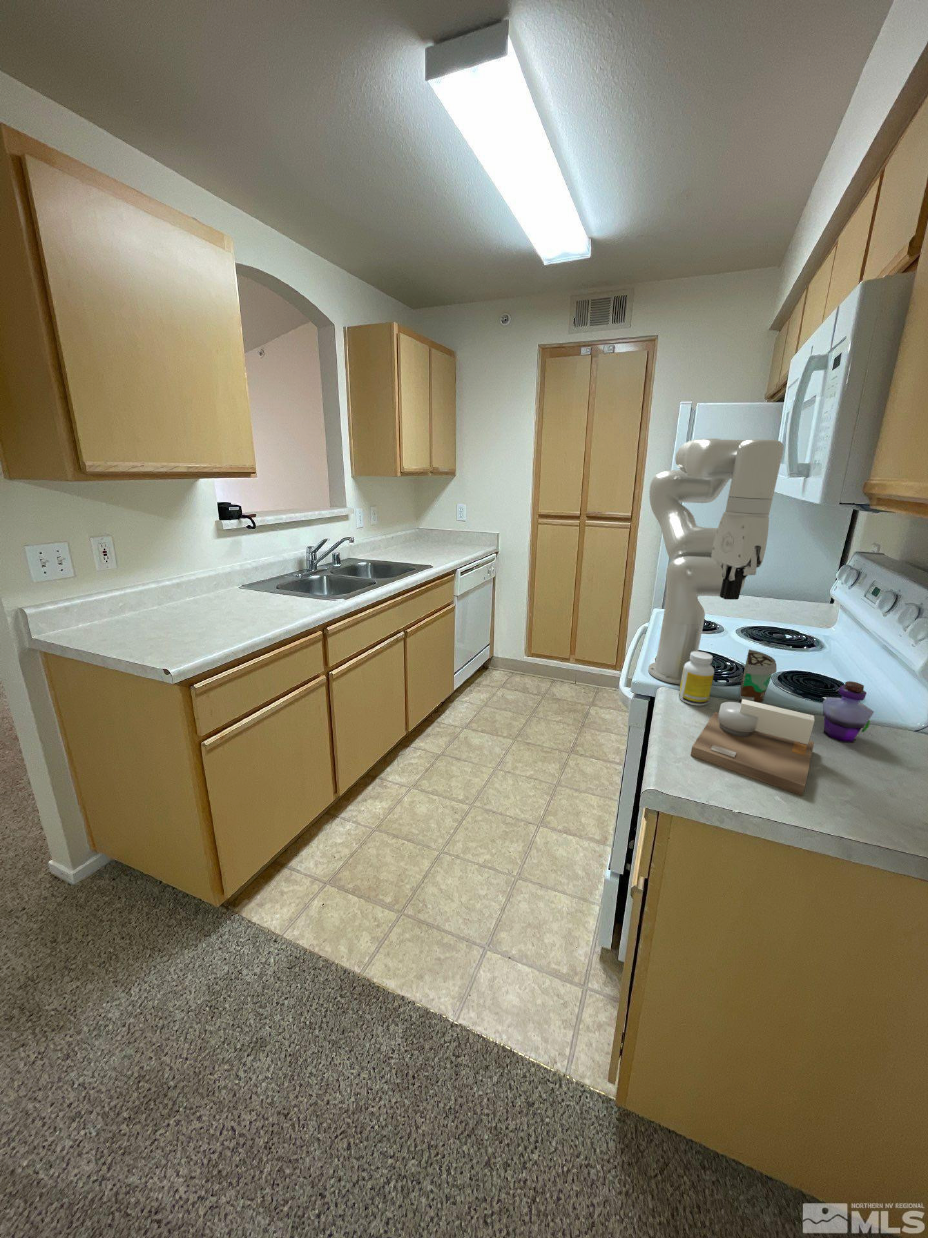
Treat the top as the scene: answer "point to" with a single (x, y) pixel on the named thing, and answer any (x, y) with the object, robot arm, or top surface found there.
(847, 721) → the potion bottle
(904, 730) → the top surface
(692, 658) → the pill bottle
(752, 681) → the food container
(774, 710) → the white bar with knob
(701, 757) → the post base
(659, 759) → the top surface
